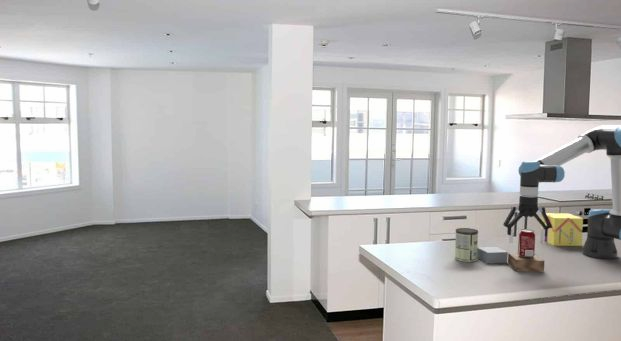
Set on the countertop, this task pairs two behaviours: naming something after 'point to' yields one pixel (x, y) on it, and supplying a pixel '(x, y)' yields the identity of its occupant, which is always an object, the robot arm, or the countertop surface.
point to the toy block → (564, 229)
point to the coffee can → (466, 244)
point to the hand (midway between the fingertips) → (526, 242)
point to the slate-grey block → (492, 254)
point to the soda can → (526, 243)
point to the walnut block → (526, 263)
